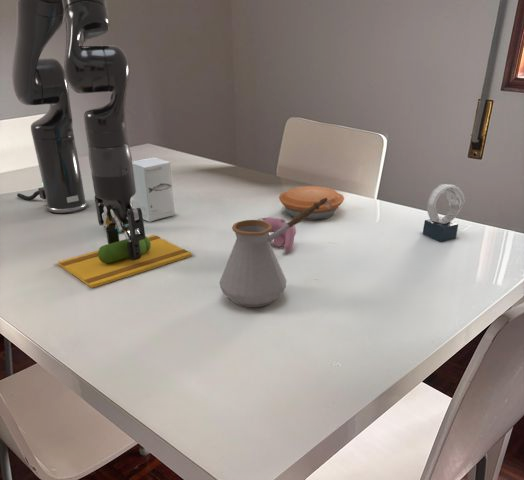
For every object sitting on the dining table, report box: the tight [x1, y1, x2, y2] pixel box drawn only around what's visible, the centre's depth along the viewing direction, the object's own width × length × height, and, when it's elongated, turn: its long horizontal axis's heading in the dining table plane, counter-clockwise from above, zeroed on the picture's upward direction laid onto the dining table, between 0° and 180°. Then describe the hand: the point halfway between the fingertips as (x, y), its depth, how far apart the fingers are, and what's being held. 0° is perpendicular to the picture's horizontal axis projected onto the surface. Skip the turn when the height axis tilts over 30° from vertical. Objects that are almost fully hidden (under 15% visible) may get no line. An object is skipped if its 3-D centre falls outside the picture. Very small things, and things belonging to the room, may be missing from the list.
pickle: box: [97, 235, 151, 264], centre depth 111 cm, size 4×11×4 cm, turn 131°
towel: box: [57, 234, 193, 289], centre depth 112 cm, size 14×22×1 cm, turn 131°
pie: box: [278, 185, 345, 221], centre depth 135 cm, size 15×16×5 cm
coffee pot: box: [219, 198, 332, 308], centre depth 96 cm, size 21×12×15 cm, turn 121°
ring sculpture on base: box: [422, 183, 466, 243], centre depth 119 cm, size 6×8×11 cm
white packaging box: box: [131, 156, 176, 223], centre depth 132 cm, size 7×7×13 cm
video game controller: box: [256, 216, 297, 254], centre depth 116 cm, size 10×5×7 cm, turn 71°
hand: (124, 253), depth 112 cm, fingers open, 8 cm apart
